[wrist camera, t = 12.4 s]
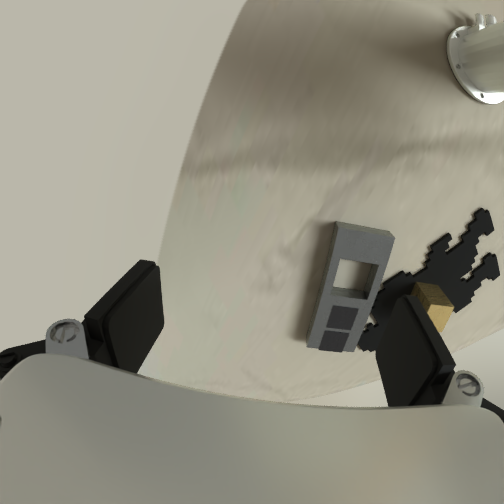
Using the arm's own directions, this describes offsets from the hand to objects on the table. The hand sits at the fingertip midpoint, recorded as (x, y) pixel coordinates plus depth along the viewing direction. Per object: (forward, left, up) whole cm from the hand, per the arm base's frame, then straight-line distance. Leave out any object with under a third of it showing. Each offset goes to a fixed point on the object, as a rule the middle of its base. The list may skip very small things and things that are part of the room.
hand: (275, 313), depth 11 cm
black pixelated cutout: (+13, +26, -28) cm, 41 cm away
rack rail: (+14, +11, -28) cm, 33 cm away
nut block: (+13, +24, -28) cm, 39 cm away
